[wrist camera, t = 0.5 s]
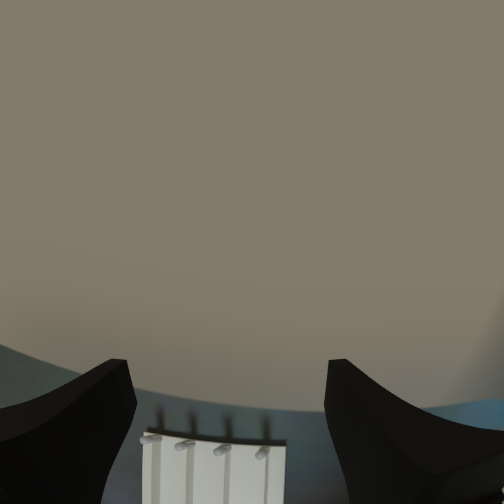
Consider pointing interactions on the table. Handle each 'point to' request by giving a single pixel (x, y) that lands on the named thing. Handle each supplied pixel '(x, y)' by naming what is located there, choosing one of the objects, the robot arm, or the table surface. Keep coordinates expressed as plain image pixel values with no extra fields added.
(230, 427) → the table surface
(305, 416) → the table surface
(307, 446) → the table surface
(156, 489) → the dish rack
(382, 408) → the robot arm
